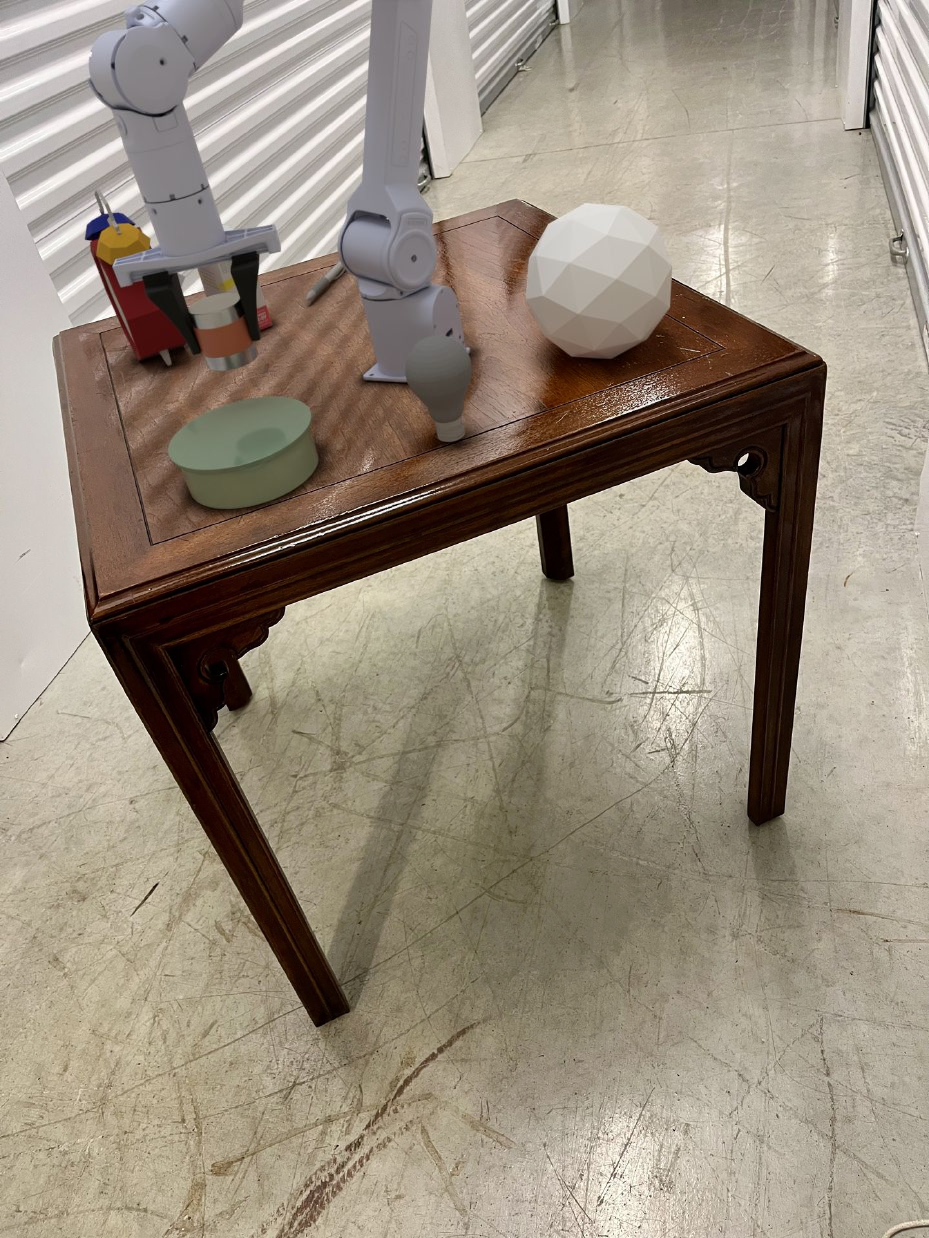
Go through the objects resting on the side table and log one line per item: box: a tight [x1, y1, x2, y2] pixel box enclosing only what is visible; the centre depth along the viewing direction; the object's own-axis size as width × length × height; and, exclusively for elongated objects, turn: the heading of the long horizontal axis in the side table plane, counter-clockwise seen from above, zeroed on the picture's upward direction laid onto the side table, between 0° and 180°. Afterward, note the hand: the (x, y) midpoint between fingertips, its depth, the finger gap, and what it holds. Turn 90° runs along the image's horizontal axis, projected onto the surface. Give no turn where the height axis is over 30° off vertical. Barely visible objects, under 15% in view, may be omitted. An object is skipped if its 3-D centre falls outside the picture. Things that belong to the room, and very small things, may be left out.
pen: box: [306, 260, 346, 301], centre depth 128 cm, size 1×14×1 cm, turn 164°
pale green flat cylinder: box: [167, 395, 319, 510], centre depth 89 cm, size 14×14×4 cm
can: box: [187, 293, 259, 372], centre depth 88 cm, size 5×5×6 cm
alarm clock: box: [84, 187, 187, 367], centre depth 113 cm, size 15×9×20 cm, turn 27°
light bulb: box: [405, 335, 473, 443], centre depth 86 cm, size 6×6×10 cm
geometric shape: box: [524, 202, 673, 360], centre depth 94 cm, size 14×15×15 cm
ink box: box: [196, 223, 273, 331], centre depth 118 cm, size 9×5×12 cm, turn 35°
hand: (227, 343), depth 89 cm, fingers closed on can, 5 cm apart
